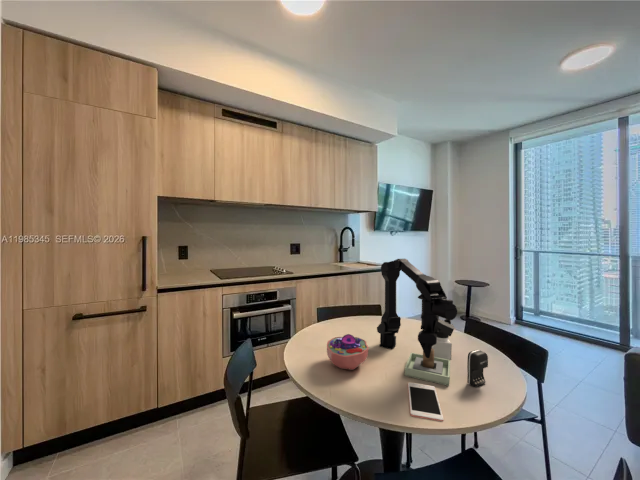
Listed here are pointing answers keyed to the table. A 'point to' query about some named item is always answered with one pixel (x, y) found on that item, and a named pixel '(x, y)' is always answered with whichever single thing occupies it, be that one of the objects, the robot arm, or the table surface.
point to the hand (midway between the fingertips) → (428, 353)
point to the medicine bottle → (442, 346)
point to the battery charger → (476, 367)
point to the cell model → (347, 351)
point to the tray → (427, 374)
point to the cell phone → (424, 402)
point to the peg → (429, 360)
